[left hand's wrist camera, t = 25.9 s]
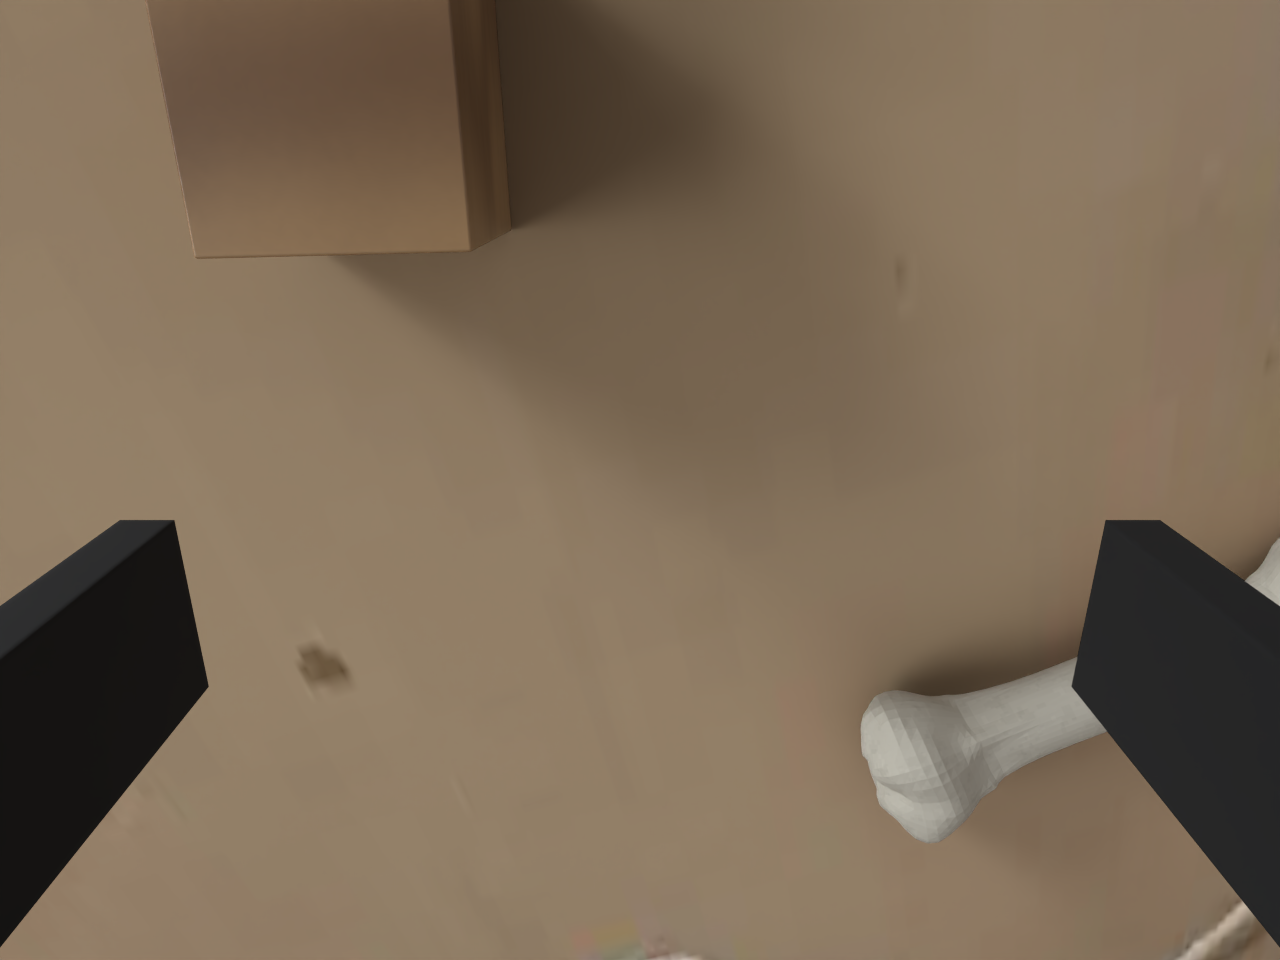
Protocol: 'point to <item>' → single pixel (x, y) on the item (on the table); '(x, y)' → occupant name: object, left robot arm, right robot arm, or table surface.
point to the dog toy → (980, 736)
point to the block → (334, 124)
